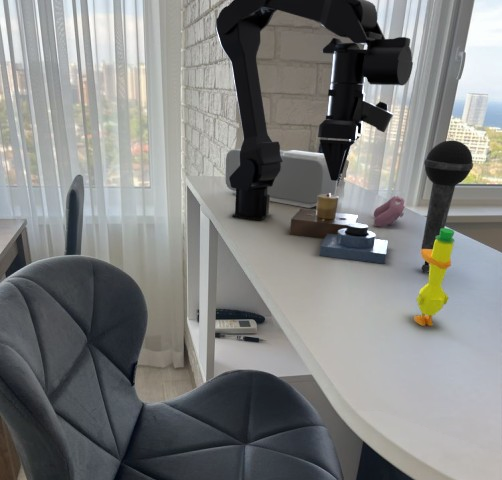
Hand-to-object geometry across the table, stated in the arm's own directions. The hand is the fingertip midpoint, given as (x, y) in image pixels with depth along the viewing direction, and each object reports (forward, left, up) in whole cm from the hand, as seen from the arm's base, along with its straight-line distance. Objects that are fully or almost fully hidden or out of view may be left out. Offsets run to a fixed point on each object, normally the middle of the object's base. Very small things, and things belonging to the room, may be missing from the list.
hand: (336, 176), depth 95 cm
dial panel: (-1, +2, -11) cm, 11 cm away
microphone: (+18, -16, -11) cm, 26 cm away
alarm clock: (-17, +30, -11) cm, 36 cm away
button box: (+6, -10, -11) cm, 16 cm away
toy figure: (+17, -37, -11) cm, 42 cm away
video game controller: (+11, +16, -11) cm, 22 cm away
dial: (-1, +2, -8) cm, 8 cm away
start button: (+6, -10, -8) cm, 14 cm away
